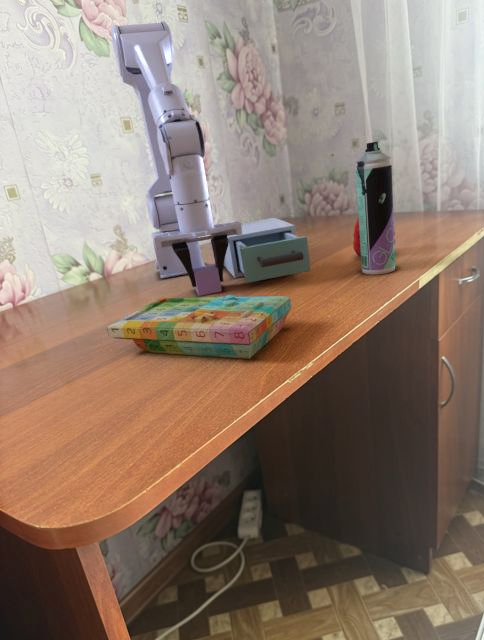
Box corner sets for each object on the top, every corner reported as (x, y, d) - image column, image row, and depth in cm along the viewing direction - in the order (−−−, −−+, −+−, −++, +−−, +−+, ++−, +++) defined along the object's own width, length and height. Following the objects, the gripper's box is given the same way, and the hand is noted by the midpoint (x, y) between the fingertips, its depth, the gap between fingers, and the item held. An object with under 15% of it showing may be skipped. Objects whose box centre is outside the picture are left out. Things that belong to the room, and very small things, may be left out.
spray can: (386, 275, 80) (381, 141, 73) (356, 273, 83) (347, 145, 76) (400, 266, 84) (396, 138, 76) (370, 265, 87) (364, 142, 80)
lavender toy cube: (198, 296, 84) (194, 273, 83) (196, 290, 88) (191, 268, 86) (221, 291, 85) (217, 268, 83) (218, 286, 88) (214, 264, 87)
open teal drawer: (318, 275, 82) (315, 240, 80) (251, 288, 80) (246, 253, 78) (288, 257, 98) (285, 227, 96) (232, 267, 97) (227, 237, 94)
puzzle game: (247, 324, 53) (104, 320, 62) (253, 365, 54) (114, 355, 63) (289, 291, 62) (160, 291, 71) (293, 326, 64) (167, 322, 73)
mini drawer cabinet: (299, 265, 95) (294, 225, 92) (234, 278, 92) (228, 237, 90) (279, 253, 108) (274, 217, 105) (222, 263, 106) (216, 227, 103)
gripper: (147, 211, 76) (166, 297, 81) (240, 196, 78) (252, 280, 83) (146, 207, 82) (164, 287, 87) (232, 193, 85) (244, 271, 90)
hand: (207, 283), depth 86 cm, fingers closed on lavender toy cube, 4 cm apart
